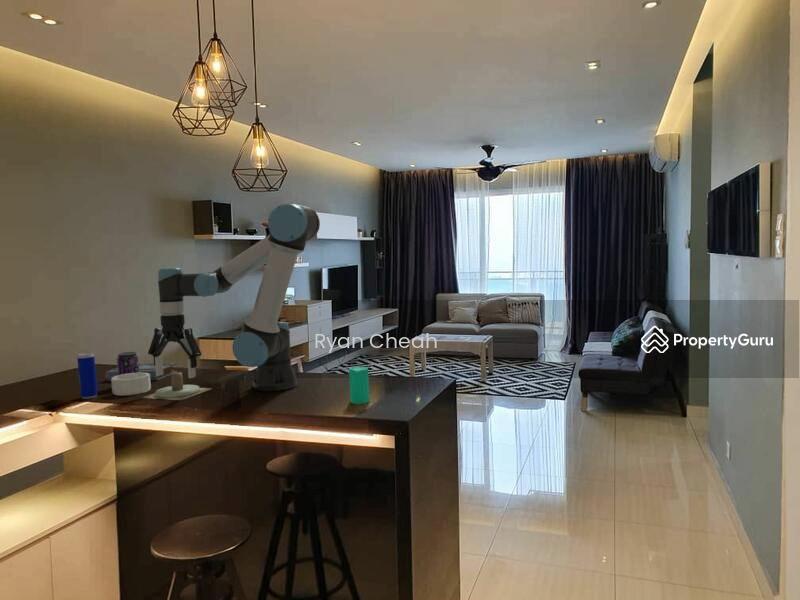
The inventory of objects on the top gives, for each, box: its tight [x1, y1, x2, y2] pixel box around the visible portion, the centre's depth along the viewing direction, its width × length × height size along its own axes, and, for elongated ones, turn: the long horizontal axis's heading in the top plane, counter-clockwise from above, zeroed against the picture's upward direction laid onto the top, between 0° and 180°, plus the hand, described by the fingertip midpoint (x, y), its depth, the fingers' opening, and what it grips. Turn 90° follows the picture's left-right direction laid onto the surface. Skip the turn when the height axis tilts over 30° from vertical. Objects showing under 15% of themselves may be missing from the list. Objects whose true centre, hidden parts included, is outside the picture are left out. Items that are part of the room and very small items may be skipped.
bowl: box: [110, 372, 152, 396], centre depth 209 cm, size 12×12×6 cm
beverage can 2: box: [116, 351, 139, 375], centre depth 221 cm, size 7×7×12 cm
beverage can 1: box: [76, 352, 98, 400], centre depth 204 cm, size 5×5×15 cm
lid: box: [154, 371, 200, 398], centre depth 203 cm, size 14×14×7 cm
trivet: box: [141, 387, 213, 401], centre depth 203 cm, size 16×16×1 cm
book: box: [104, 362, 178, 382], centre depth 237 cm, size 21×16×5 cm
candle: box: [348, 363, 370, 405], centre depth 185 cm, size 6×6×12 cm
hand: (175, 376), depth 203 cm, fingers open, 13 cm apart
